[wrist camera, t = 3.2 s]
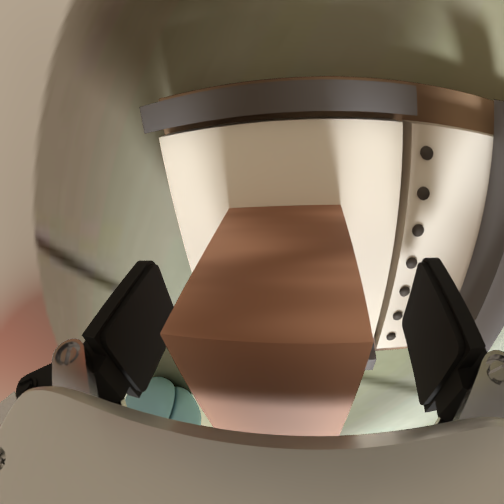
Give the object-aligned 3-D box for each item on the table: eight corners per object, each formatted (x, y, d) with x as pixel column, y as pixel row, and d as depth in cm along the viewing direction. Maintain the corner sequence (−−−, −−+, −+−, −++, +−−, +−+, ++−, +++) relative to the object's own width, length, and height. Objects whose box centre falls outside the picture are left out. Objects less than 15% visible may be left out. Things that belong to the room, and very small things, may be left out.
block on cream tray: (393, 118, 8) (524, 181, 2) (367, 335, 14) (379, 455, 8) (170, 132, 10) (29, 205, 4) (219, 333, 16) (183, 443, 10)
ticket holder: (530, 116, 7) (587, 139, 3) (478, 321, 14) (499, 370, 10) (174, 97, 10) (113, 106, 7) (225, 331, 18) (207, 388, 14)
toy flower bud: (97, 443, 21) (108, 445, 14) (125, 383, 28) (151, 355, 21) (154, 470, 22) (194, 481, 15) (176, 410, 29) (222, 393, 22)
